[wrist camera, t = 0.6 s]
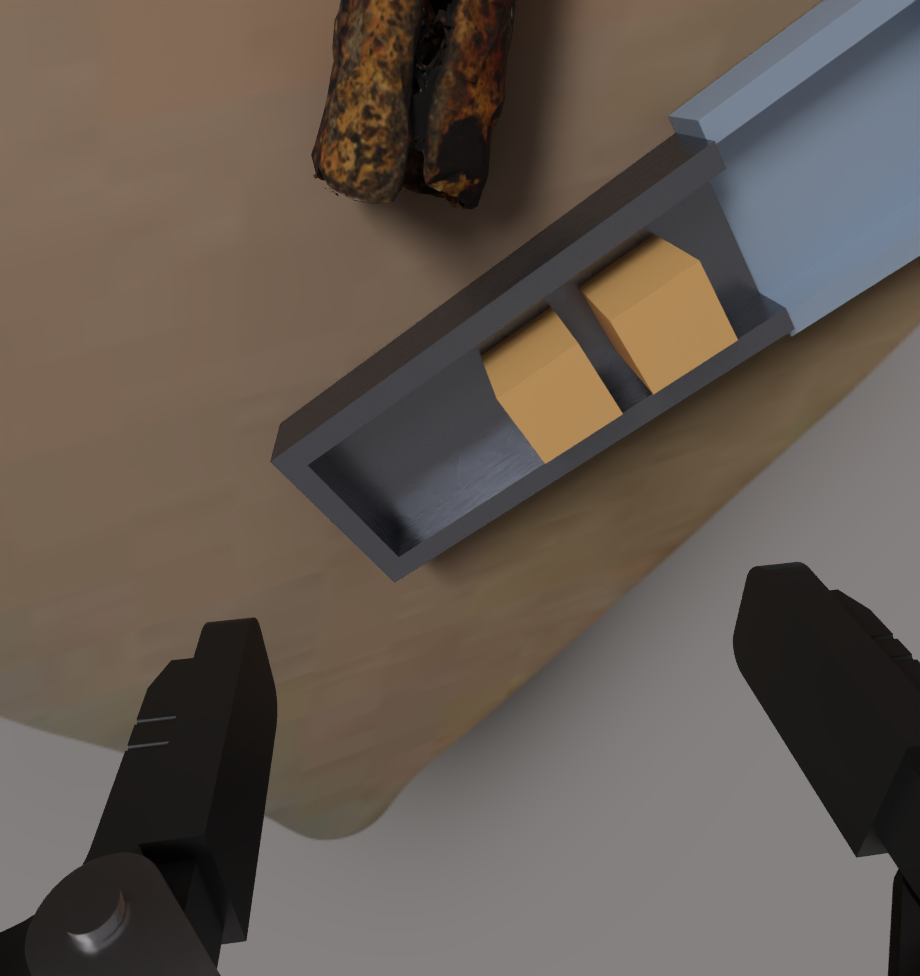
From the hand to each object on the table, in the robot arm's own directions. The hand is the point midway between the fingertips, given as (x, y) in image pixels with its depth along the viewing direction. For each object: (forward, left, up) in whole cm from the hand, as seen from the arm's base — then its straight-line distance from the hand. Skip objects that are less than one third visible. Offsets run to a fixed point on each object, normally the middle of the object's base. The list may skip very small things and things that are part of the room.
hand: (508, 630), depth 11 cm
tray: (-18, +7, -24) cm, 31 cm away
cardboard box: (-7, +7, -23) cm, 25 cm away
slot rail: (-1, +7, -24) cm, 25 cm away
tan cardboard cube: (-2, +7, -23) cm, 24 cm away
